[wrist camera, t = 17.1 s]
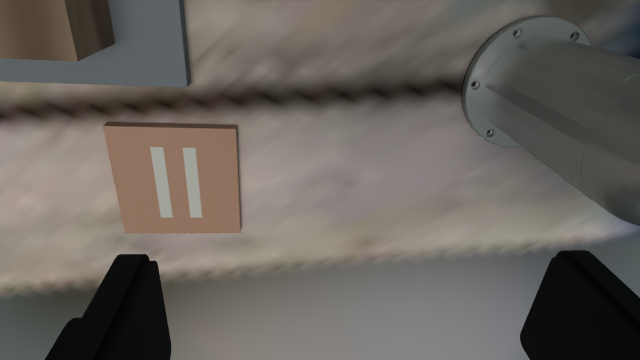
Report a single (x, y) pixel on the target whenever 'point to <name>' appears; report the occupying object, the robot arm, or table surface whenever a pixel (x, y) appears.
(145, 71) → the slate board
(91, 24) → the walnut block
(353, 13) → the table surface
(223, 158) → the tile
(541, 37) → the robot arm
